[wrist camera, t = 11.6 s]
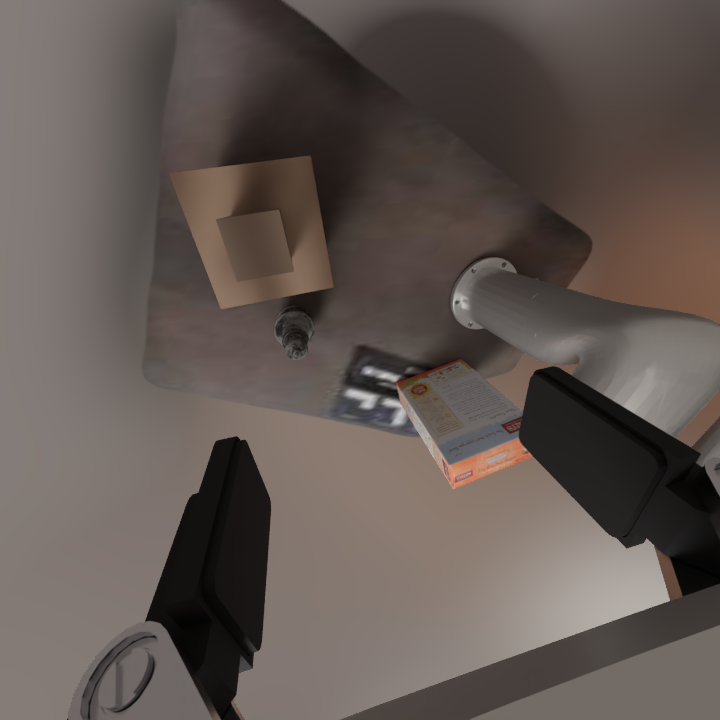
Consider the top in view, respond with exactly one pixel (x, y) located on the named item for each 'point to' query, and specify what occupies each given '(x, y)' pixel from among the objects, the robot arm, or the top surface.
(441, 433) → the cracker box
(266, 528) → the robot arm
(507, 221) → the top surface
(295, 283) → the walnut cover
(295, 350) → the grey ridged tall piece
